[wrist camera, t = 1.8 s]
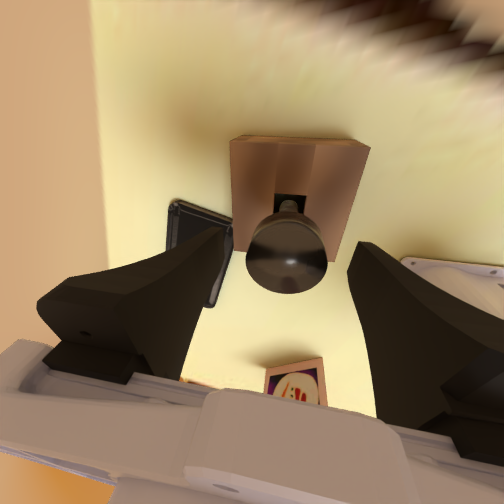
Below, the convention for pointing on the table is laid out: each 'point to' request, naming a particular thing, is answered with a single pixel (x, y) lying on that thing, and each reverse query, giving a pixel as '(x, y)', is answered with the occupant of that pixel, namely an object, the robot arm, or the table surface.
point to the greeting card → (298, 381)
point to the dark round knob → (287, 252)
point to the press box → (295, 182)
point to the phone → (193, 223)
